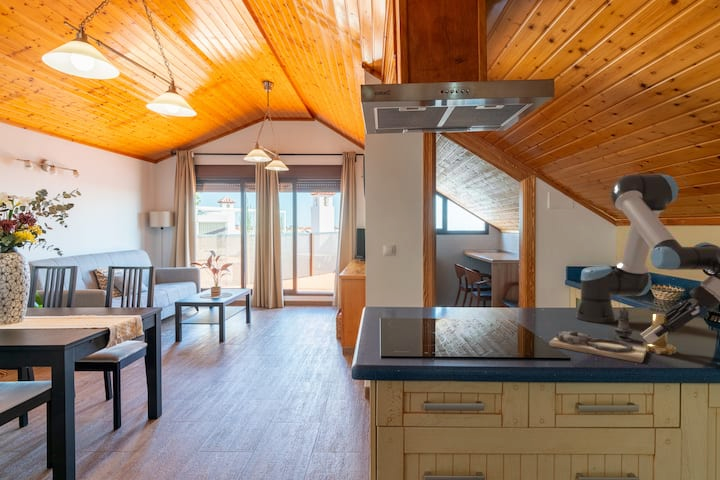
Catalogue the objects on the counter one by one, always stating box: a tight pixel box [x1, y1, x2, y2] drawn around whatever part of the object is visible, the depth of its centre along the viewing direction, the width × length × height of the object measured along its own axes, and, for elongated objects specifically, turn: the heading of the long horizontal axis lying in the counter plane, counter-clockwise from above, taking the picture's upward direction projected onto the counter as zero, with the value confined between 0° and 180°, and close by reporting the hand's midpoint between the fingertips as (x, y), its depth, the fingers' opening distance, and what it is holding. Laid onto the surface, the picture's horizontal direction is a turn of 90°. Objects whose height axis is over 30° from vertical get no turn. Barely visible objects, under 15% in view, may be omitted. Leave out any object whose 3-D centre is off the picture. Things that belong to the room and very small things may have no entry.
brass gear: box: [642, 312, 677, 356], centre depth 129 cm, size 9×9×12 cm
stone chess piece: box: [613, 306, 634, 342], centre depth 143 cm, size 6×6×12 cm
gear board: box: [548, 330, 648, 364], centre depth 131 cm, size 14×26×4 cm, turn 49°
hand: (645, 339), depth 131 cm, fingers closed on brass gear, 4 cm apart
